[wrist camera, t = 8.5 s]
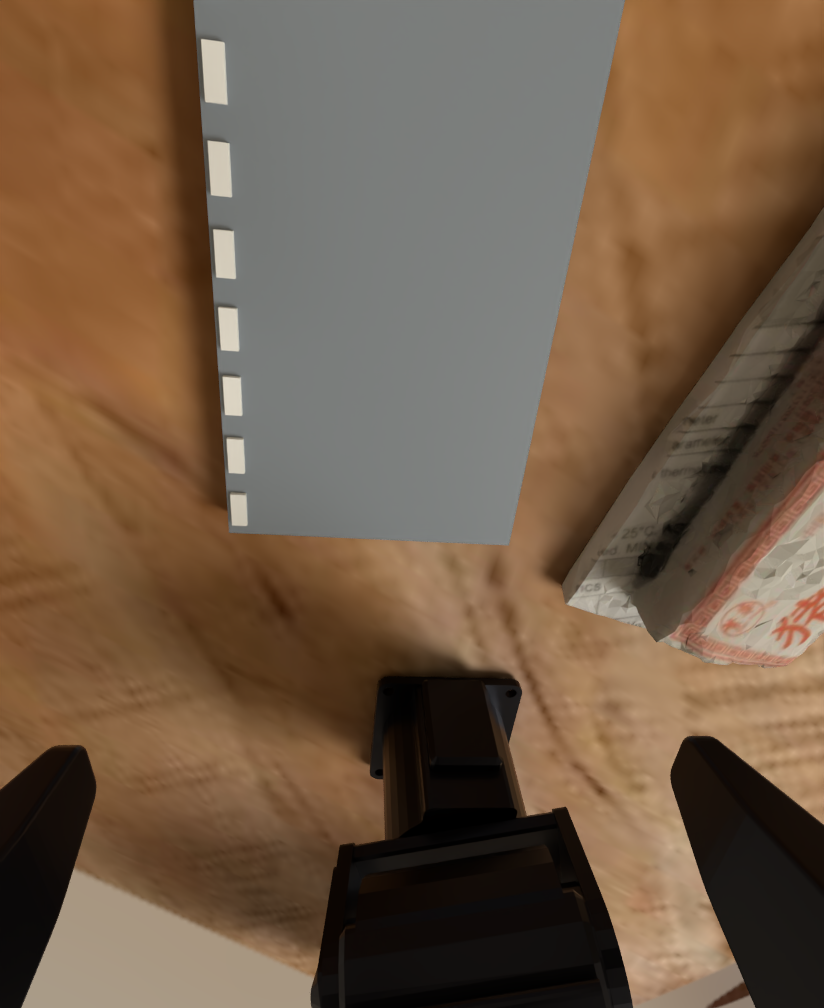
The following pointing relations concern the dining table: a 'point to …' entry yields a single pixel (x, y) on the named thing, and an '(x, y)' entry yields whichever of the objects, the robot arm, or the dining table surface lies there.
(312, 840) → the dining table surface
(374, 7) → the board
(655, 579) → the packaged product
